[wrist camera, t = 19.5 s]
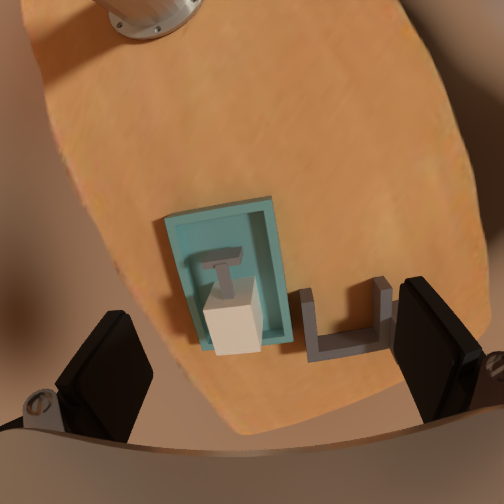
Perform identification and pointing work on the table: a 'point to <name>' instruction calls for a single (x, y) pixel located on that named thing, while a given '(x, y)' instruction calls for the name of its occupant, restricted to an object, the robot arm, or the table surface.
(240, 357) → the table surface
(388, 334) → the bay
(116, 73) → the table surface
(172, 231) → the tray
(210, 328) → the t-handle cube
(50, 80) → the table surface
